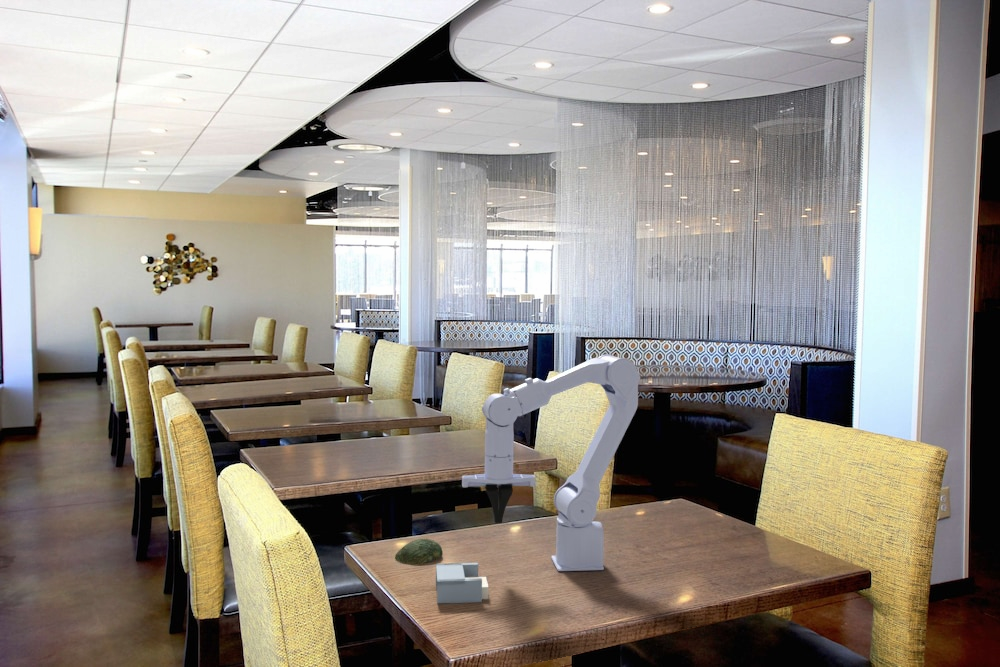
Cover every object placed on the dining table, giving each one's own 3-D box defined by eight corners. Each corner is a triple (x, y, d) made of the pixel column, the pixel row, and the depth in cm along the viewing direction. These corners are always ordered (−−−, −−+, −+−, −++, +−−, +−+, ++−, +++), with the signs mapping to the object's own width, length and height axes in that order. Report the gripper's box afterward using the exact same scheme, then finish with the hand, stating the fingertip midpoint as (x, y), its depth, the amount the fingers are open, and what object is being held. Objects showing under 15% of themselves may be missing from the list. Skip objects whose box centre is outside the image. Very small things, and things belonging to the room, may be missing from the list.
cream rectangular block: (485, 590, 146) (486, 576, 146) (488, 600, 141) (488, 587, 141) (443, 591, 145) (443, 577, 145) (444, 602, 141) (444, 588, 140)
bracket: (477, 583, 149) (477, 562, 149) (481, 602, 140) (482, 580, 140) (435, 584, 148) (436, 563, 148) (437, 603, 139) (437, 581, 139)
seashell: (404, 528, 169) (448, 533, 166) (404, 546, 169) (448, 551, 167) (387, 547, 159) (433, 552, 157) (387, 566, 160) (433, 571, 157)
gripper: (532, 450, 159) (530, 515, 160) (461, 450, 157) (460, 516, 158) (537, 457, 152) (536, 525, 153) (463, 458, 150) (462, 527, 151)
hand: (498, 521), depth 155 cm, fingers closed
